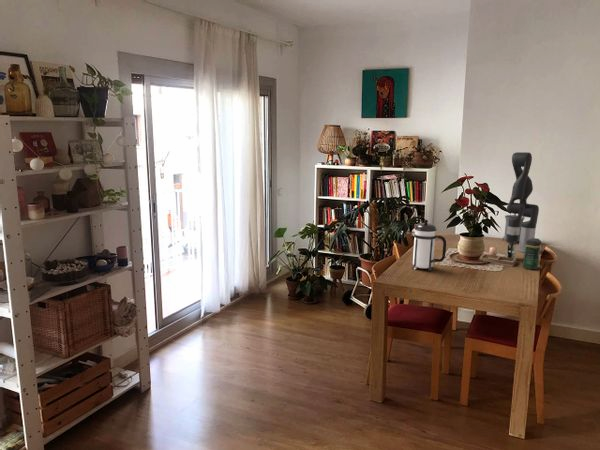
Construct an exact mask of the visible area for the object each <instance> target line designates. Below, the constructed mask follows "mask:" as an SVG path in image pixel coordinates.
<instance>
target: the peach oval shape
mask: <svg viewBox="0 0 600 450" xmlns="http://www.w3.org/2000/svg"><path fill="white" fill-rule="evenodd" d="M488 254H489V255H495V256H498V255H497V254H498V247H495V246H490V247H489V253H488Z"/></svg>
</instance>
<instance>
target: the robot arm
mask: <svg viewBox="0 0 600 450" xmlns="http://www.w3.org/2000/svg"><path fill="white" fill-rule="evenodd" d="M532 160H533V157H532V153H531V152H528V151H527V152H523V151H522V152H513V154H512V156H511V163H512V168H513V172H514V176H515V181H514V183H513V186H512V192H511V197H510V200H509V202H508V203H507V206H506V211H507V210H508V211H509V212H507V213H508V214H513V215H514V214H516V215H517V216H516V217H510V218H509V221H508V228H507V235H506V239H505V240H506V241H508V243H507V251H508V252H507V251H506V252H507V253H508V258H512V251H514V252H515V249H516V242H518V252H520V253H525V246H526V240H528V239H531V238H536V236H535V235H536V229H537V224H538V217H539V211H540V209H539V204H538V205H537V204H533V203H532V204H531V203H528V202H527V200H528V198H529V197H530V195H531V194H532V192H533V190H534V187H533V180H532V178H531V177H530V176H529V173H530V170H531V165H532V162H533V161H532ZM517 200H518V201H519V202H515V201H517ZM521 217H525V218H530V219H529V220H527V221H523V222H522V224H521V232H520V221H521ZM519 233H520V241H519ZM509 251H511V252H509Z"/></svg>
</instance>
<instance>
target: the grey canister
mask: <svg viewBox="0 0 600 450" xmlns="http://www.w3.org/2000/svg"><path fill="white" fill-rule="evenodd" d="M516 216H518V214H513V215H512V214H507V215H504V218H505V227H504V235H503V237H502V238H501V241H504V240H506V235H507V228H508V221H509V218H510V217H516ZM525 219H526V217H523V216H522V217H521V221H520V232H521V224H522V222H524V220H525ZM519 241H520V233H519ZM519 241H518V242H519Z"/></svg>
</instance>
